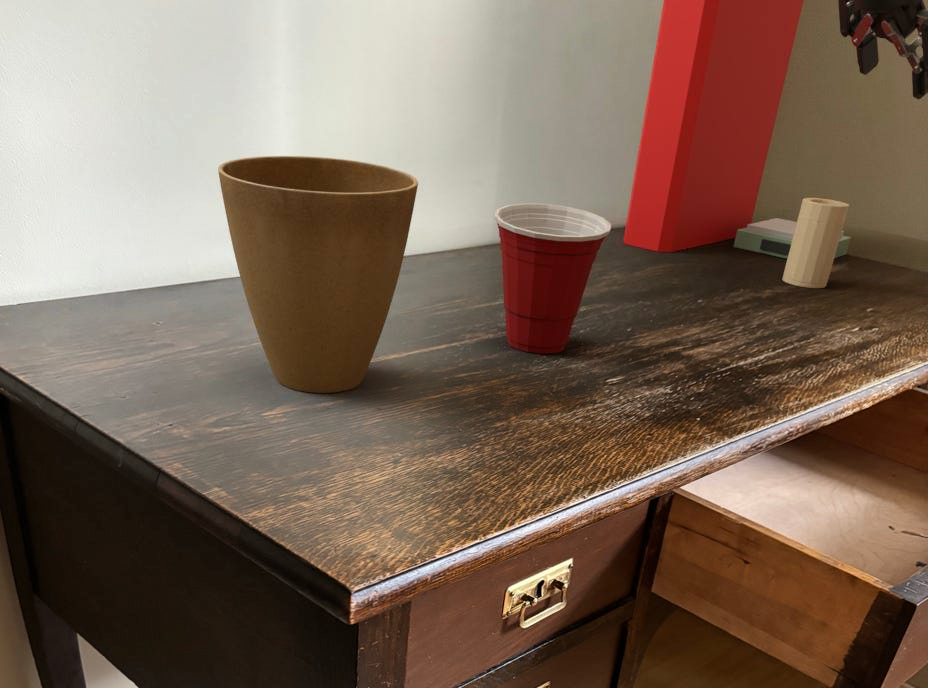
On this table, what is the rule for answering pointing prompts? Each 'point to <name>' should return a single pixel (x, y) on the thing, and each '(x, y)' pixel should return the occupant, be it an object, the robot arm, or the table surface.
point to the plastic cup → (545, 270)
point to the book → (708, 119)
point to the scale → (776, 238)
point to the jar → (815, 242)
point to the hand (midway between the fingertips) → (895, 81)
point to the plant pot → (317, 260)
